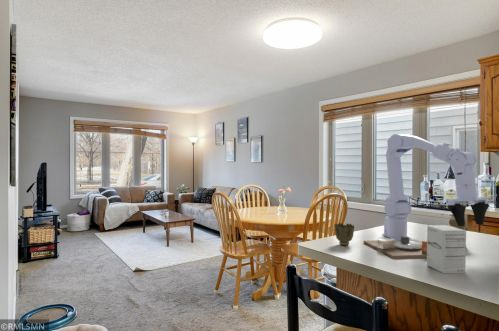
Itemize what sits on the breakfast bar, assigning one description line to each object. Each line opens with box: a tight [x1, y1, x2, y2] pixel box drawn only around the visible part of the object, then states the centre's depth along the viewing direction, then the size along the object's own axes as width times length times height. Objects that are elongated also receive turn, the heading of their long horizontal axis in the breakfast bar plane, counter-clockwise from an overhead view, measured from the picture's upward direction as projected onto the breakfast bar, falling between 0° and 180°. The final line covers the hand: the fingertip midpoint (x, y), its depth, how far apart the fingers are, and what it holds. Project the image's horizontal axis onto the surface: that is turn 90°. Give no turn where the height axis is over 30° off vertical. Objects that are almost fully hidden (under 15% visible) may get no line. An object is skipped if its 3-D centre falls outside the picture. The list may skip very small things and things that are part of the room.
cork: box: [448, 217, 465, 230], centre depth 117 cm, size 6×6×11 cm
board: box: [363, 235, 427, 260], centre depth 113 cm, size 20×22×5 cm
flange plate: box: [377, 238, 422, 250], centre depth 113 cm, size 16×11×3 cm, turn 107°
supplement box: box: [426, 224, 467, 274], centre depth 92 cm, size 7×7×13 cm
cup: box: [333, 222, 355, 247], centre depth 119 cm, size 8×7×8 cm
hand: (470, 225), depth 105 cm, fingers open, 7 cm apart
